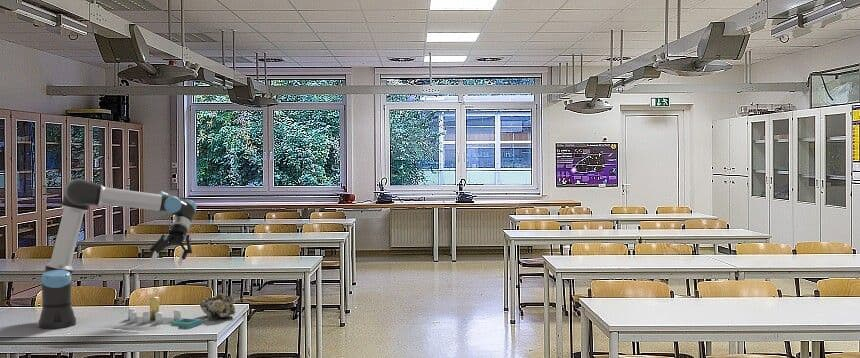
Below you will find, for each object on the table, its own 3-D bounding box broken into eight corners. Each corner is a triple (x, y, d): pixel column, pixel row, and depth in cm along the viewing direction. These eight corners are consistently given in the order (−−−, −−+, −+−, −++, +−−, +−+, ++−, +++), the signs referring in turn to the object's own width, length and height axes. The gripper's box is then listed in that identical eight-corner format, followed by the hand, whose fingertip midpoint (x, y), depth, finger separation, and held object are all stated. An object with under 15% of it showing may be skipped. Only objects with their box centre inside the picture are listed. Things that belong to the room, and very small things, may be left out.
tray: (171, 327, 359) (171, 322, 359) (184, 322, 368) (184, 318, 368) (188, 328, 356) (188, 323, 356) (201, 324, 364) (201, 319, 364)
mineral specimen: (233, 313, 390) (233, 291, 389) (236, 320, 373) (236, 297, 373) (198, 315, 385) (198, 293, 385) (200, 322, 368) (200, 300, 368)
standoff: (148, 320, 370) (147, 297, 370) (153, 318, 374) (153, 296, 374) (155, 320, 369) (154, 298, 369) (161, 319, 373) (160, 296, 372)
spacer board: (117, 324, 365) (117, 312, 365) (134, 318, 379) (134, 306, 378) (170, 326, 360) (170, 314, 360) (186, 320, 374) (185, 308, 374)
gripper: (207, 233, 395) (193, 269, 381) (158, 233, 399) (143, 269, 385) (202, 223, 389) (187, 259, 375) (152, 223, 394) (136, 259, 380)
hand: (165, 264), depth 380 cm, fingers open, 13 cm apart
